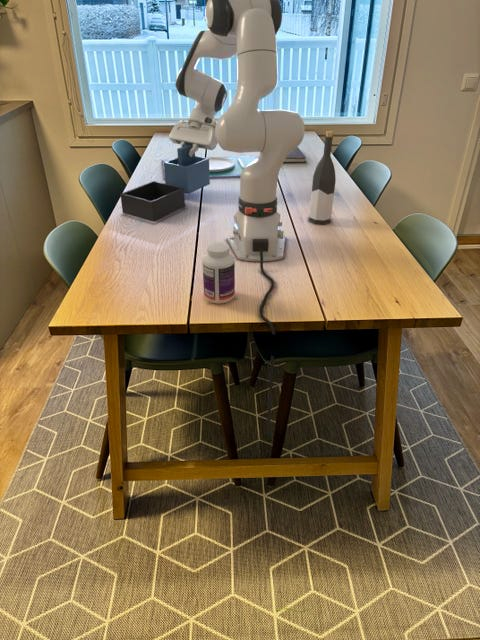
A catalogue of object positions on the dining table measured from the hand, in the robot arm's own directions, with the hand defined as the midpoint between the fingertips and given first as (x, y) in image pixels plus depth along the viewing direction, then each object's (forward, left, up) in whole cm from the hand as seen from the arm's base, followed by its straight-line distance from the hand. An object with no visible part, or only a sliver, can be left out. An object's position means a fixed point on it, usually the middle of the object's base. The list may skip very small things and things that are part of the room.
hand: (185, 155), depth 176 cm
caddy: (+1, 0, -12) cm, 12 cm away
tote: (-16, +12, -16) cm, 25 cm away
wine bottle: (-26, -47, -16) cm, 56 cm away
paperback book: (+57, -48, -16) cm, 76 cm away
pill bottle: (-77, -10, -16) cm, 79 cm away
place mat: (+38, -10, -16) cm, 43 cm away
